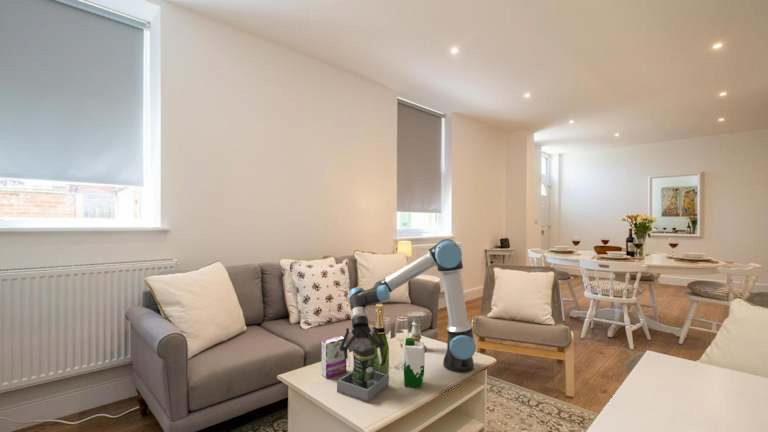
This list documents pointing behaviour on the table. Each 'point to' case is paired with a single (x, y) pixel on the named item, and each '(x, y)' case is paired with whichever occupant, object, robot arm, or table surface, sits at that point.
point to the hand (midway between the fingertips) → (364, 364)
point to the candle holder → (416, 325)
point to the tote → (361, 393)
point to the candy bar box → (333, 357)
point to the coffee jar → (363, 365)
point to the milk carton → (413, 363)
